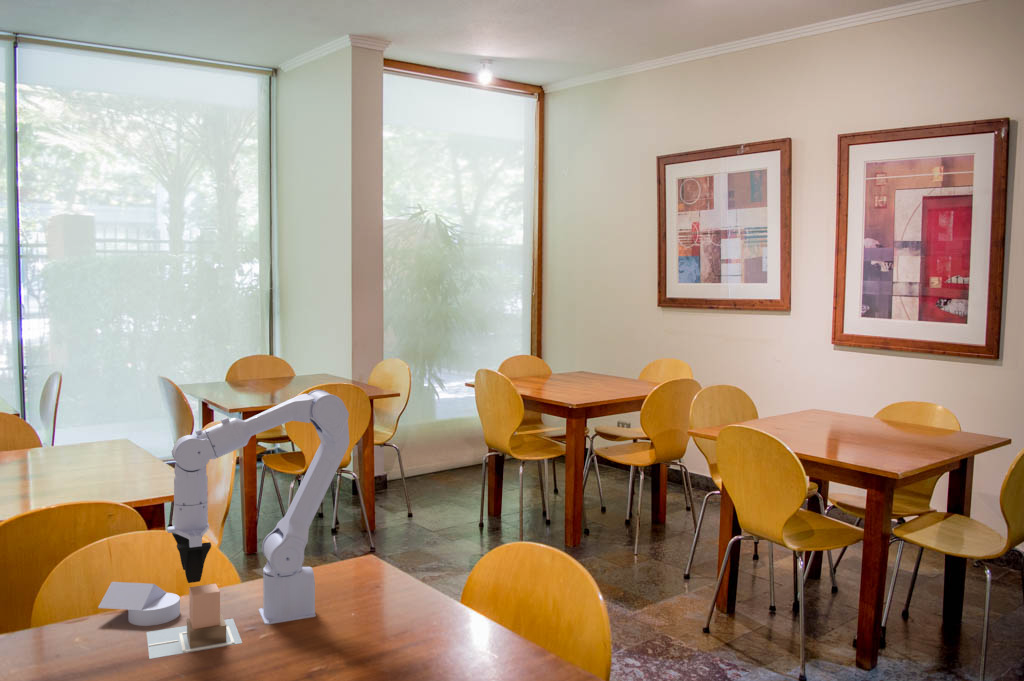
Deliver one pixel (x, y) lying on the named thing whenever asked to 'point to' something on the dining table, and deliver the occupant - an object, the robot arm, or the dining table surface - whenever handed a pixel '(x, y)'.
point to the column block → (204, 606)
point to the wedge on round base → (142, 602)
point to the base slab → (206, 634)
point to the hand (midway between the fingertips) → (191, 575)
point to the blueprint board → (184, 640)
